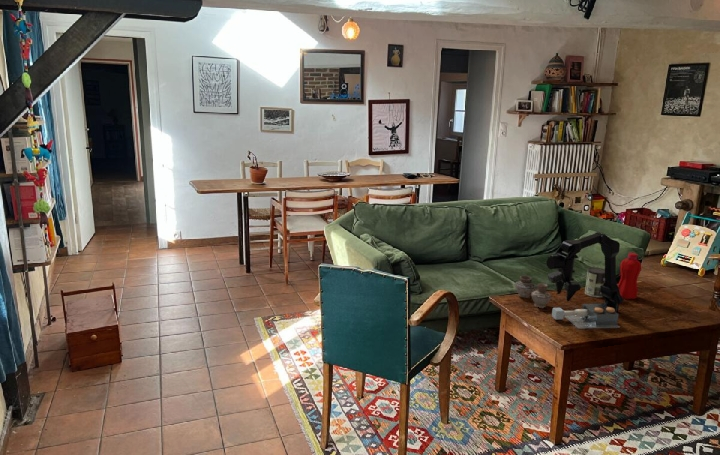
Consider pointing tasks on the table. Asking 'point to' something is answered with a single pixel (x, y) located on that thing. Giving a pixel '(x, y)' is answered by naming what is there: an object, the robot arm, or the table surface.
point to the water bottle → (629, 276)
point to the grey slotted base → (595, 318)
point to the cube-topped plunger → (568, 313)
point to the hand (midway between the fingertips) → (563, 297)
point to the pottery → (533, 291)
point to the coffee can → (594, 281)
